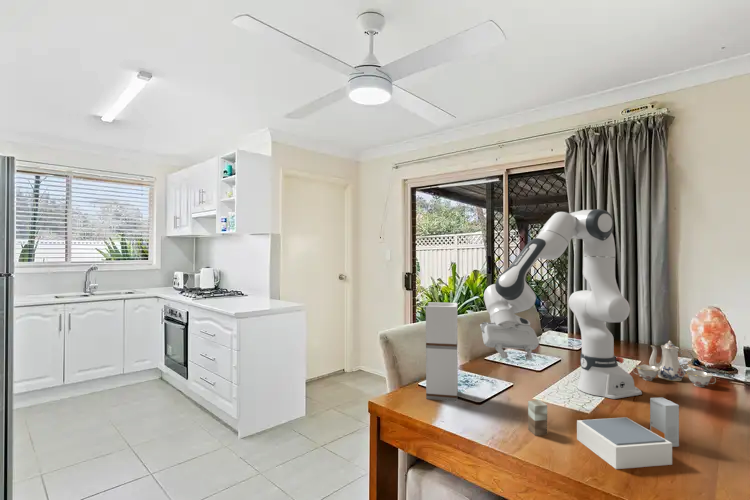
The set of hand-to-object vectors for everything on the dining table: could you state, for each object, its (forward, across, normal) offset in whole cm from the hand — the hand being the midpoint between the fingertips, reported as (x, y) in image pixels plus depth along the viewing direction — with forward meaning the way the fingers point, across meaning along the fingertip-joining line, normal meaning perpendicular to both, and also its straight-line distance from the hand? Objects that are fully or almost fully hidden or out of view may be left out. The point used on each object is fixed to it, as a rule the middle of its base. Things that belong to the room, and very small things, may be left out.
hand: (517, 358), depth 136 cm
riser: (+32, +16, -8) cm, 37 cm away
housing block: (+23, +1, +4) cm, 23 cm away
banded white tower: (-1, -15, +32) cm, 35 cm away
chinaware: (-4, +85, +17) cm, 87 cm away
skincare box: (+30, +32, -9) cm, 45 cm away
